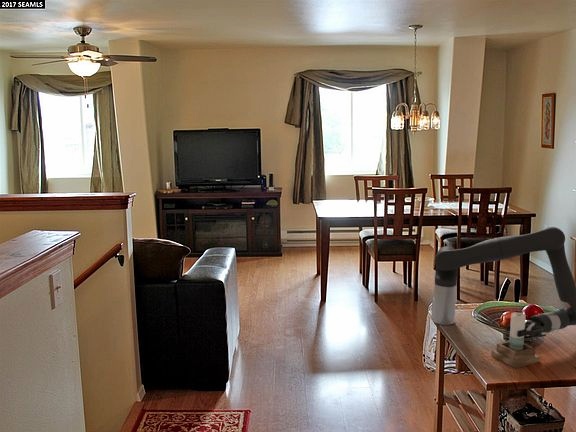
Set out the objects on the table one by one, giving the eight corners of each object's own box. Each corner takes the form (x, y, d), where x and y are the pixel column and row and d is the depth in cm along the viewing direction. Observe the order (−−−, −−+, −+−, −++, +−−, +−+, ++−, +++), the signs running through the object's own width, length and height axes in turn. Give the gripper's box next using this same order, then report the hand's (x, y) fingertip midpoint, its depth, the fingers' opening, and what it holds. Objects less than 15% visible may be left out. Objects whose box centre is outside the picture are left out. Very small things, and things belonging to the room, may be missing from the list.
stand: (491, 355, 222) (492, 343, 221) (514, 349, 227) (515, 337, 226) (515, 368, 211) (516, 355, 210) (539, 361, 216) (540, 349, 215)
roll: (505, 348, 219) (508, 313, 217) (515, 346, 222) (518, 311, 219) (516, 354, 215) (518, 317, 212) (526, 351, 217) (529, 315, 214)
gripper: (530, 308, 228) (498, 315, 221) (561, 320, 216) (528, 328, 208) (528, 326, 230) (496, 333, 223) (559, 339, 217) (526, 348, 210)
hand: (512, 331), depth 216 cm, fingers closed on roll, 5 cm apart
